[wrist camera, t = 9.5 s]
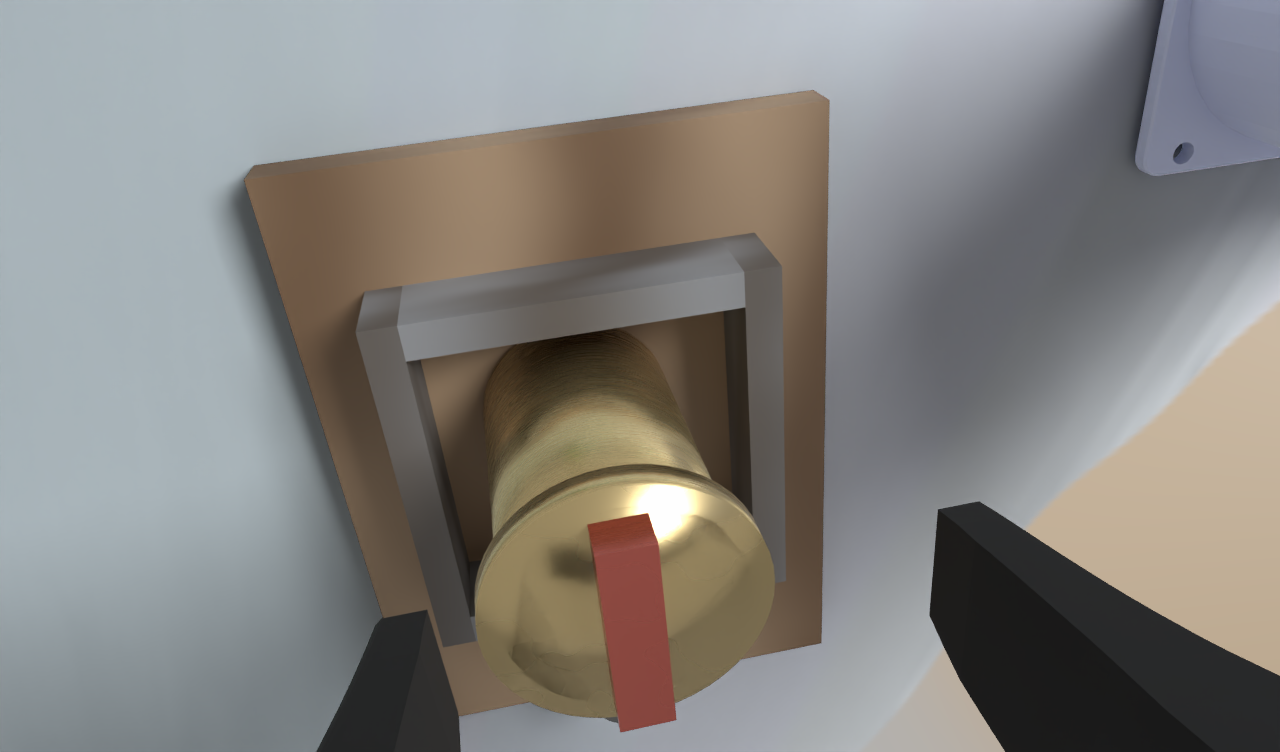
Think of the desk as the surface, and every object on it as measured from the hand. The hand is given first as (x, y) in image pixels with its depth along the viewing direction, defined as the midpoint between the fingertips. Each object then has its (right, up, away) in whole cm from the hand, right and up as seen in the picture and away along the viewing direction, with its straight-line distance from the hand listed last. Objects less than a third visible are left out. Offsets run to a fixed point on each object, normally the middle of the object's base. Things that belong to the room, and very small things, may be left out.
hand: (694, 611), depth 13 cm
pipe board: (-2, +2, +11) cm, 11 cm away
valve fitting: (-2, +3, +9) cm, 10 cm away
